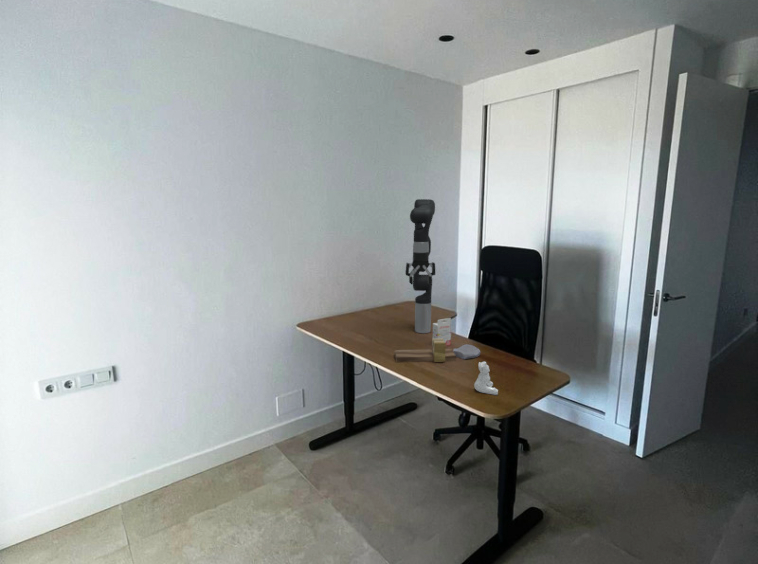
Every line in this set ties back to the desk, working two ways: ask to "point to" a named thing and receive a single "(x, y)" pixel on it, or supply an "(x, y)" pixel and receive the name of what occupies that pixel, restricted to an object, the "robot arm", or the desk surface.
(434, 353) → the wooden mallet
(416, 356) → the board
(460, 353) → the stone block
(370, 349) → the desk surface
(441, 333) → the ink cartridge box
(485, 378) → the seated beast figurine
